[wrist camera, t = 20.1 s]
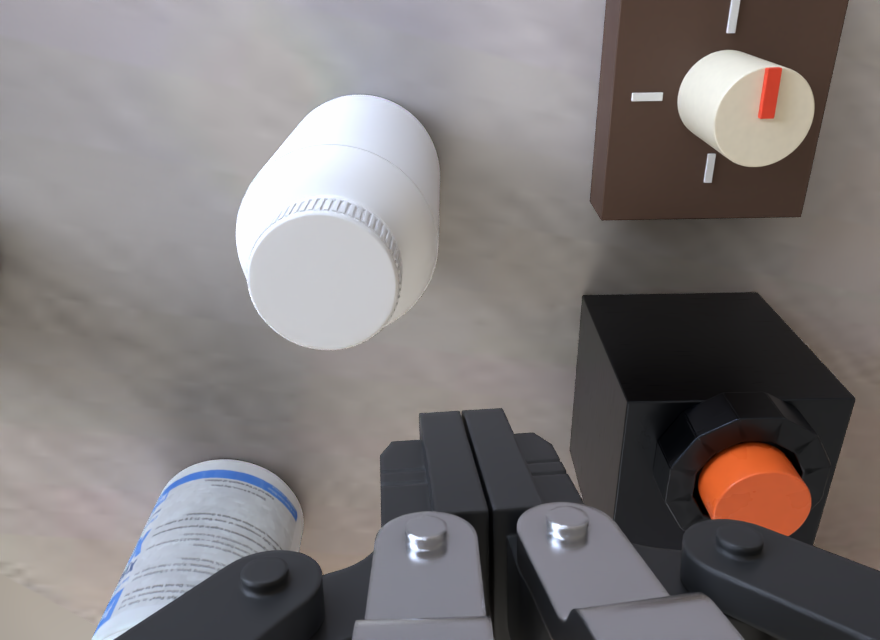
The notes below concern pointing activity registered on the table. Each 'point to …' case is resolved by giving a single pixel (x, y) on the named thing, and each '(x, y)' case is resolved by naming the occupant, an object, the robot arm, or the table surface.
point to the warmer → (657, 118)
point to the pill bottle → (342, 224)
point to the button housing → (694, 405)
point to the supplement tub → (202, 536)
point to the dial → (746, 107)
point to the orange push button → (755, 488)
